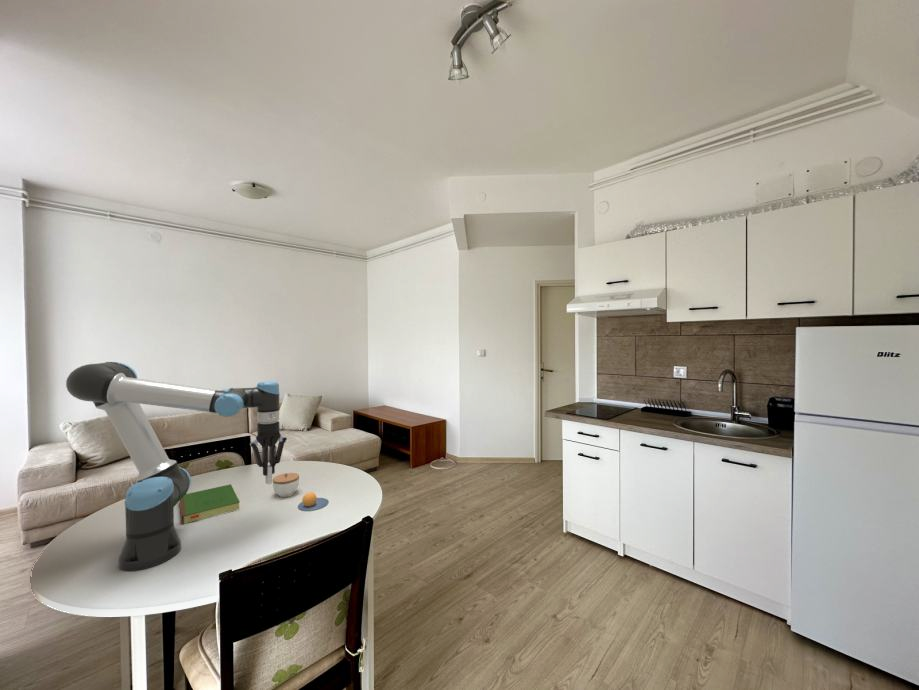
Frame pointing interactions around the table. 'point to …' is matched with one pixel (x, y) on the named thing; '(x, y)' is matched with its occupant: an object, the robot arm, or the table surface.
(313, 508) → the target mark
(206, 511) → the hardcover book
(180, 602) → the table surface
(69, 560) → the table surface
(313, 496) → the ball
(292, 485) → the lidded jar
